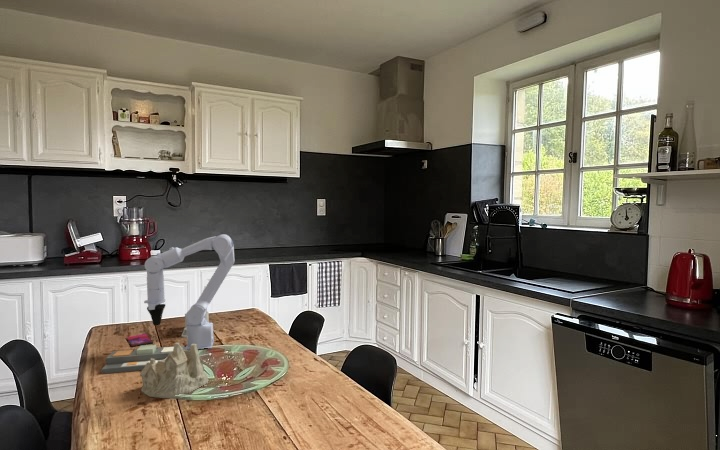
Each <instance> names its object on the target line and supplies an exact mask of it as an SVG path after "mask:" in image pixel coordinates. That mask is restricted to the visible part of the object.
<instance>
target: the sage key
mask: <svg viewBox="0 0 720 450" xmlns="http://www.w3.org/2000/svg"><path fill="white" fill-rule="evenodd" d="M156 348H157V344H155V343H154V344H148V345H142V346H138V348H136V349H137V355H141V354H154V352H155V351H156Z"/></svg>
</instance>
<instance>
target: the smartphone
mask: <svg viewBox="0 0 720 450" xmlns="http://www.w3.org/2000/svg"><path fill="white" fill-rule="evenodd" d="M126 338H127V339H126V341H127V340H128V341H127V342H128V343H130V344H129V345H130V347H131V348H136V347H140V346H142V345H154V341H153V340H152V339H151V337H149V335H148V334H146V333H144V334H138V335H131V336H126Z"/></svg>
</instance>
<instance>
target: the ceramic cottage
mask: <svg viewBox="0 0 720 450" xmlns="http://www.w3.org/2000/svg"><path fill="white" fill-rule="evenodd" d="M173 346H174V349H173V352H172V353H169V355H168V357H166V358H165V359H164V360H161V361H158V362H157V363H155V359H150V362H148V363H147V364H146V365H145V367H144V369H143V370H141V372H140V374H139V376H140V377H141V379H142V385H141V393H143V394H144V395H146V396H148V397H150V398H151V397H152V398H157V399H158V398H160V399H172V398H173V399H175V398H176V397H174V396H175V395H179V394H184V393H188V392H191V391H193V390H195V389H197V388H199V387H201V386H202V387H204V386H206V385H207V384H209V382H208V381H209V378H208V375H207V373H205V367H204V364H205V361H204V360H203V359H202V358H201V357H200V354H199V349H197V344H191V346H190V350H183V348H181V346H182V345H180V342H175V343H174V345H173ZM206 383H207V384H206ZM205 384H206V385H205ZM203 385H204V386H203ZM202 387H201V388H202ZM199 389H200V388H199ZM197 390H198V389H197ZM195 391H196V390H195ZM193 392H194V391H193Z"/></svg>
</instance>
